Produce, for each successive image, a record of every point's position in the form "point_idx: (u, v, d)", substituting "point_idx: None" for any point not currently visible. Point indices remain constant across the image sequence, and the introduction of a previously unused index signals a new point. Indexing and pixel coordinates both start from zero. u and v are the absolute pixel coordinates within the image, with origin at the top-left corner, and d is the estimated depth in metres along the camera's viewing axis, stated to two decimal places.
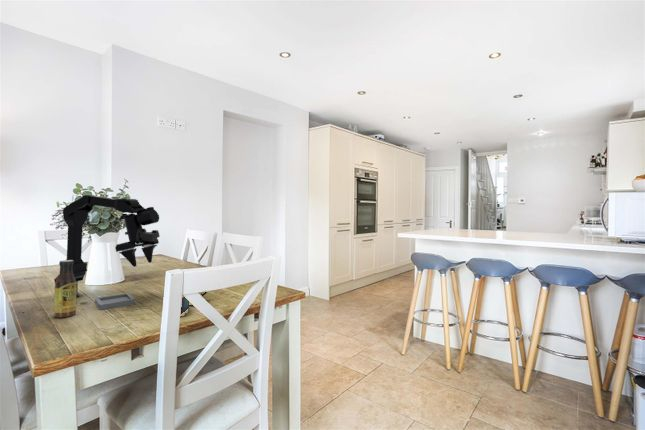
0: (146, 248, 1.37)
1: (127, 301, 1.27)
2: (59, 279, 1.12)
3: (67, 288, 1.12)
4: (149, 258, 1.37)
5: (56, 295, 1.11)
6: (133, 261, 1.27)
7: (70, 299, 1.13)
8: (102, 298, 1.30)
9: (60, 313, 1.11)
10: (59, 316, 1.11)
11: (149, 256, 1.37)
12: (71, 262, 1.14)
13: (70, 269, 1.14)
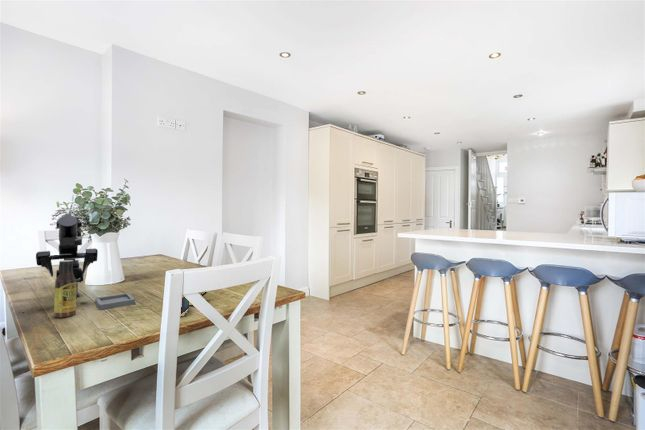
0: None
1: (127, 301, 1.27)
2: (59, 279, 1.12)
3: (67, 288, 1.12)
4: None
5: (56, 295, 1.11)
6: (49, 270, 1.18)
7: (70, 299, 1.13)
8: (102, 298, 1.30)
9: (60, 313, 1.11)
10: (59, 316, 1.11)
11: (83, 267, 1.24)
12: (71, 262, 1.14)
13: (70, 269, 1.14)
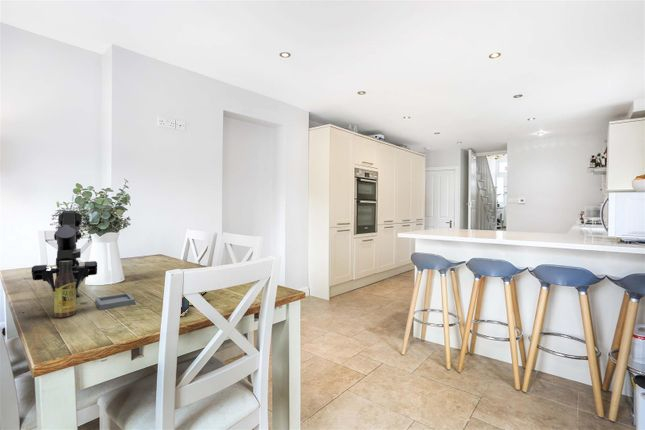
0: None
1: (127, 301, 1.27)
2: (58, 279, 1.12)
3: (66, 288, 1.12)
4: (76, 284, 1.16)
5: (56, 295, 1.11)
6: (51, 285, 1.12)
7: (70, 299, 1.13)
8: (102, 298, 1.30)
9: (60, 313, 1.11)
10: (59, 316, 1.11)
11: (77, 282, 1.16)
12: (70, 262, 1.14)
13: (69, 269, 1.14)
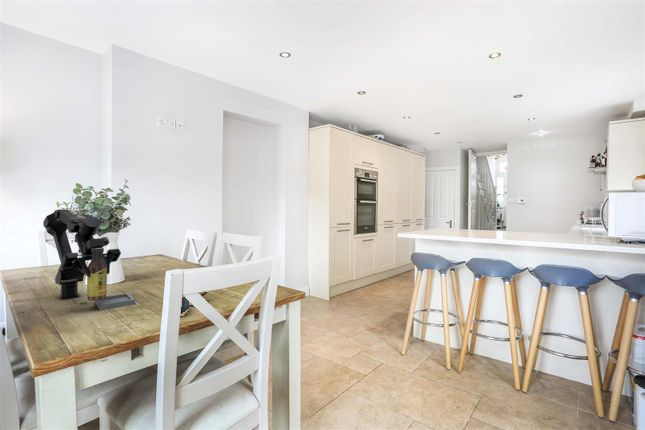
0: (104, 261, 1.27)
1: (127, 301, 1.27)
2: (94, 265, 1.19)
3: (102, 273, 1.21)
4: None
5: (91, 280, 1.19)
6: (85, 271, 1.18)
7: (104, 283, 1.22)
8: None
9: (96, 296, 1.20)
10: (95, 299, 1.19)
11: None
12: (103, 249, 1.22)
13: (102, 256, 1.22)
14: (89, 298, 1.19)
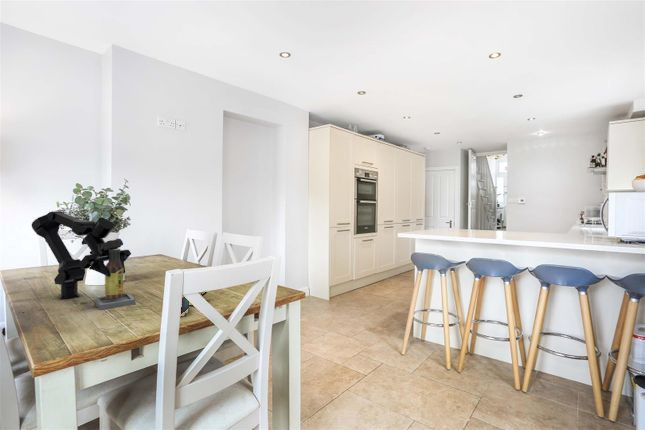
0: None
1: (127, 301, 1.27)
2: (114, 265, 1.26)
3: (121, 273, 1.28)
4: None
5: (112, 279, 1.26)
6: (105, 271, 1.25)
7: (122, 282, 1.29)
8: (102, 298, 1.30)
9: (116, 294, 1.27)
10: (115, 297, 1.26)
11: None
12: None
13: (119, 256, 1.29)
14: (109, 297, 1.26)
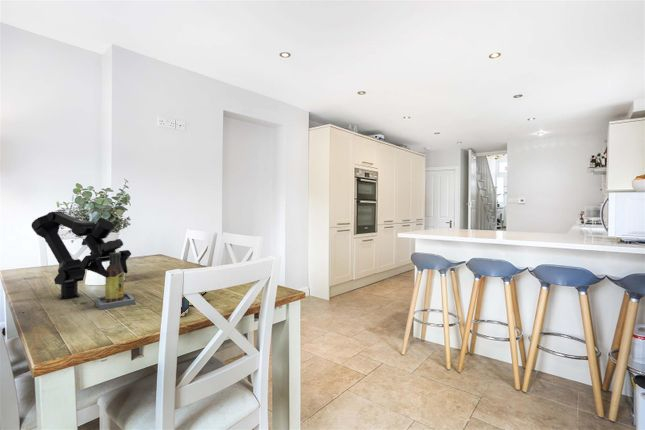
0: None
1: (127, 301, 1.27)
2: (114, 269, 1.27)
3: (121, 276, 1.28)
4: (124, 269, 1.32)
5: (112, 283, 1.26)
6: (103, 272, 1.24)
7: (123, 285, 1.29)
8: (102, 298, 1.30)
9: (117, 298, 1.27)
10: (115, 301, 1.26)
11: (123, 267, 1.33)
12: (120, 253, 1.30)
13: None
14: (109, 300, 1.26)
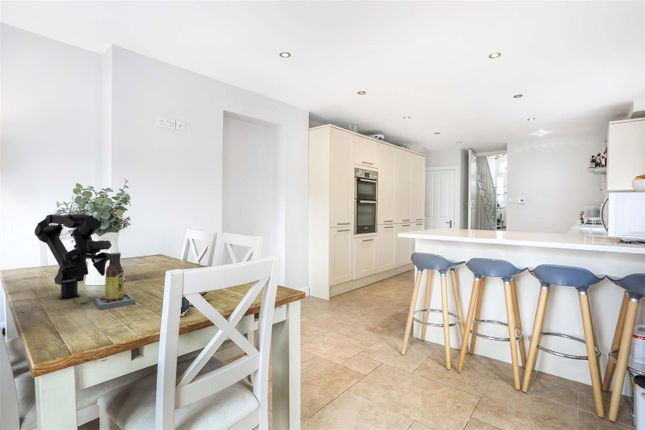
0: (98, 262, 1.34)
1: (127, 301, 1.27)
2: (114, 269, 1.26)
3: (121, 276, 1.28)
4: (101, 271, 1.33)
5: (112, 283, 1.26)
6: (84, 269, 1.23)
7: (123, 285, 1.29)
8: (102, 298, 1.30)
9: (117, 298, 1.27)
10: (115, 301, 1.26)
11: (101, 269, 1.33)
12: (120, 254, 1.30)
13: None
14: (109, 300, 1.26)
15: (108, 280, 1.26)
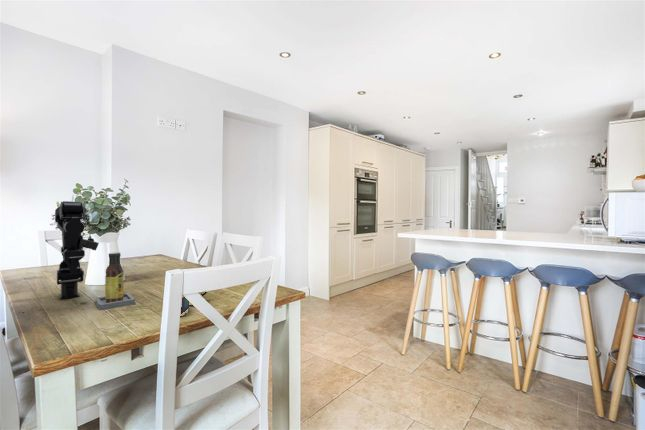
0: None
1: (127, 301, 1.27)
2: (114, 269, 1.26)
3: (121, 276, 1.28)
4: None
5: (112, 283, 1.26)
6: (75, 268, 1.23)
7: (123, 285, 1.29)
8: (102, 298, 1.30)
9: (117, 298, 1.27)
10: (115, 301, 1.26)
11: None
12: None
13: (119, 260, 1.29)
14: (109, 300, 1.26)
15: (108, 280, 1.26)
